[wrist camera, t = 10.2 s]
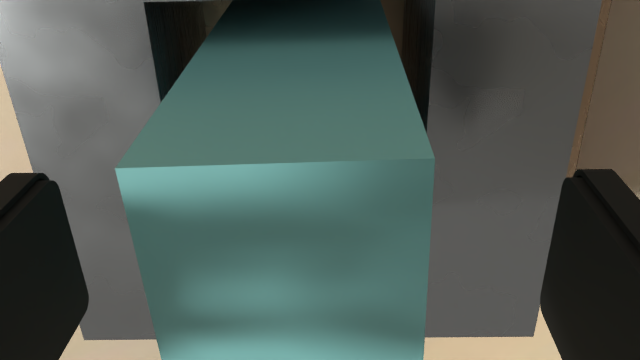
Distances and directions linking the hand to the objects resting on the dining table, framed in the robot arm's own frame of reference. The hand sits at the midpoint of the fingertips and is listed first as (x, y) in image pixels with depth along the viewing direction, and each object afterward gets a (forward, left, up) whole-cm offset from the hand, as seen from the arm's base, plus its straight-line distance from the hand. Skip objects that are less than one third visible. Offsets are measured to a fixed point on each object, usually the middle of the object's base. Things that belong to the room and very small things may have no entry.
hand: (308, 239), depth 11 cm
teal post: (0, 0, -10) cm, 10 cm away
